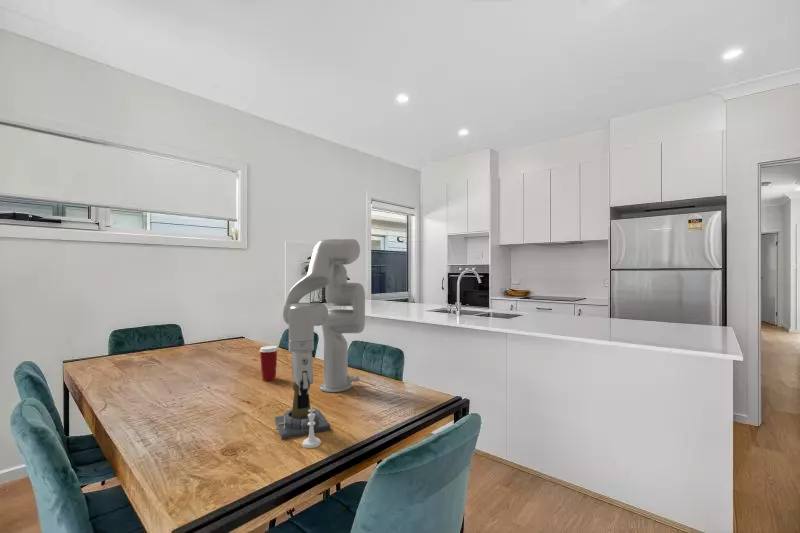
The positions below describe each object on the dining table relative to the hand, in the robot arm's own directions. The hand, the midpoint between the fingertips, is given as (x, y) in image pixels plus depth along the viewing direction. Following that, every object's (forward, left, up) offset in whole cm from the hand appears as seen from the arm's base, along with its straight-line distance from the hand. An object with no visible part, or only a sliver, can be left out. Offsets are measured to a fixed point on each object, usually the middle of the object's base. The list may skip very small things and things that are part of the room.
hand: (301, 404), depth 117 cm
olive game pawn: (0, 0, -3) cm, 3 cm away
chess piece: (0, +13, -7) cm, 15 cm away
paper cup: (+3, -57, -7) cm, 58 cm away
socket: (0, 0, -6) cm, 6 cm away
